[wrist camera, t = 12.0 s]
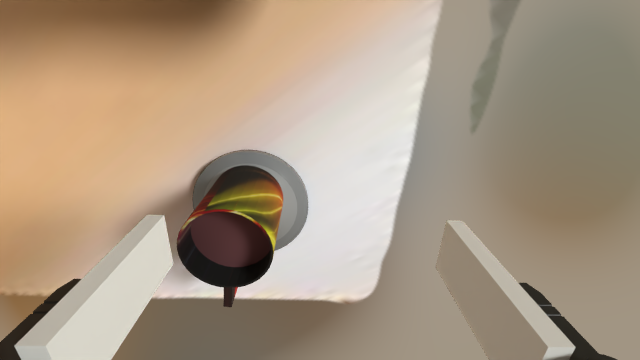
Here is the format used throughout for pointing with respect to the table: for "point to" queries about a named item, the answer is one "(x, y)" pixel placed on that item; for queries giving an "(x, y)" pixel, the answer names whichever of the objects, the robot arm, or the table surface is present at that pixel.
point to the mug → (233, 230)
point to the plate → (280, 170)
